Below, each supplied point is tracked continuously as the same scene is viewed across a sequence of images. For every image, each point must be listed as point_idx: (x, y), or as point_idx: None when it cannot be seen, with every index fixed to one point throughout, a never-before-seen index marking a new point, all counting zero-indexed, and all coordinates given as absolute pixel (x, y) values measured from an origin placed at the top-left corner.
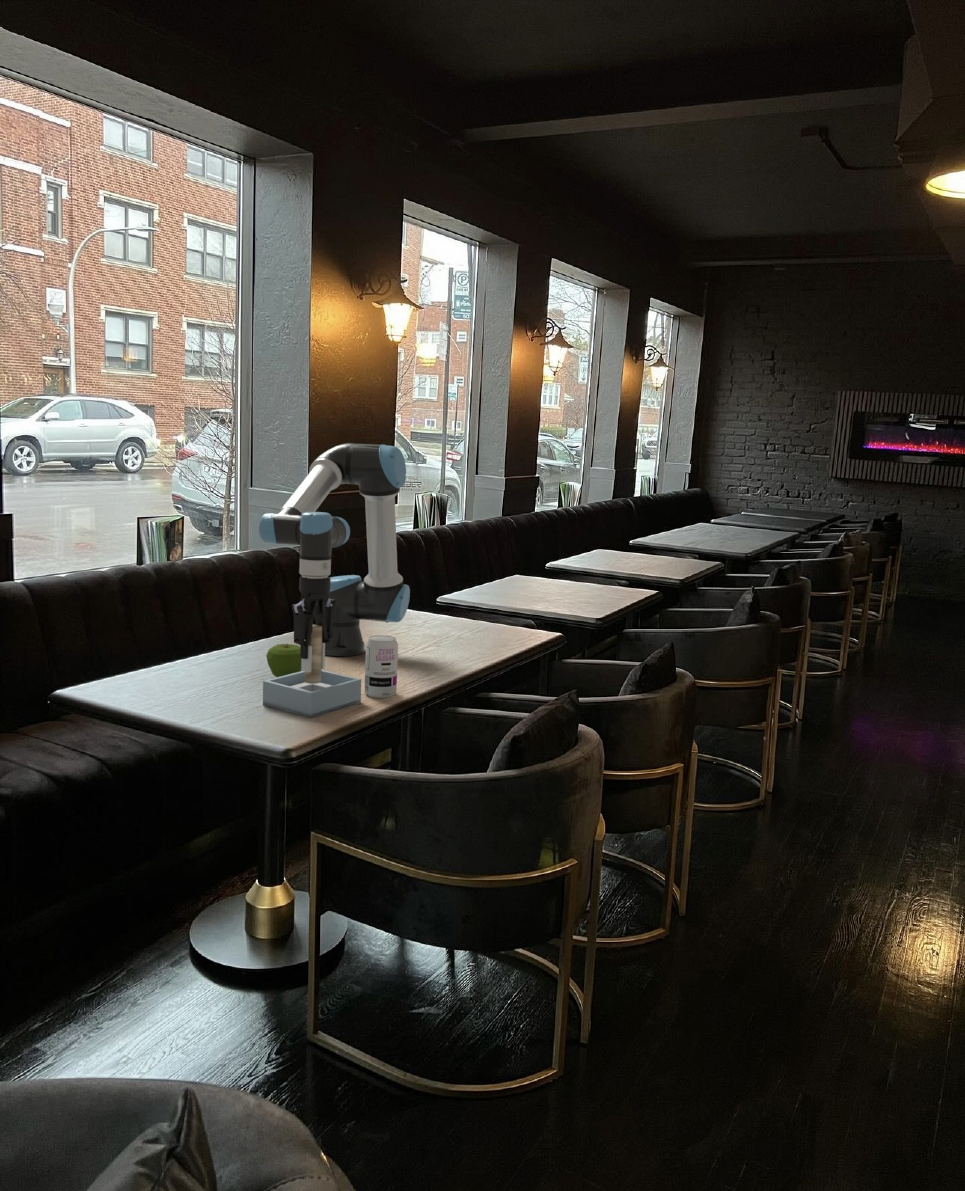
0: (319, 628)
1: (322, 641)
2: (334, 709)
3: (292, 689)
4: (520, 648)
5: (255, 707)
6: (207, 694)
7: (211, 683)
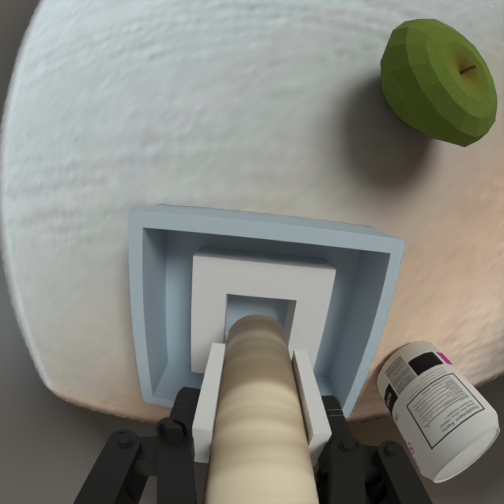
0: None
1: (319, 461)
2: None
3: (135, 344)
4: None
5: (130, 206)
6: (156, 35)
7: None
